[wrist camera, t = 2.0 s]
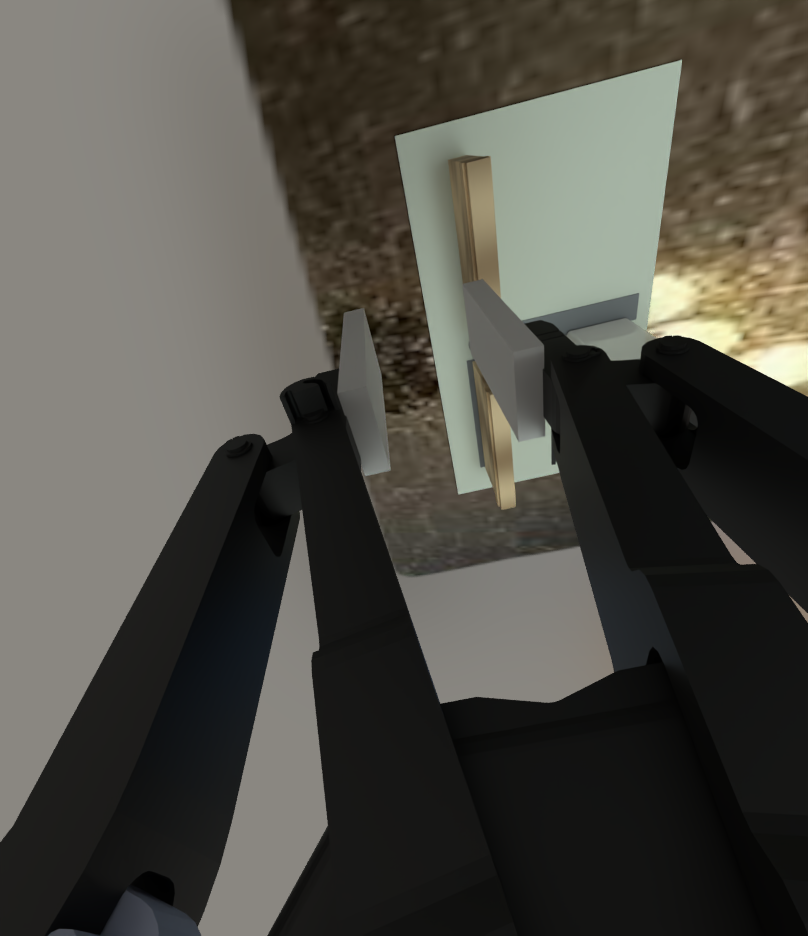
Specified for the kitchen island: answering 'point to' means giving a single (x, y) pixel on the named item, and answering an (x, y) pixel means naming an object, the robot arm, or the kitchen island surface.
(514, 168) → the board
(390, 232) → the kitchen island surface
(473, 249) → the fence panel
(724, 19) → the kitchen island surface
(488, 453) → the fixed panel
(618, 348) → the jar
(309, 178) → the kitchen island surface
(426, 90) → the kitchen island surface
